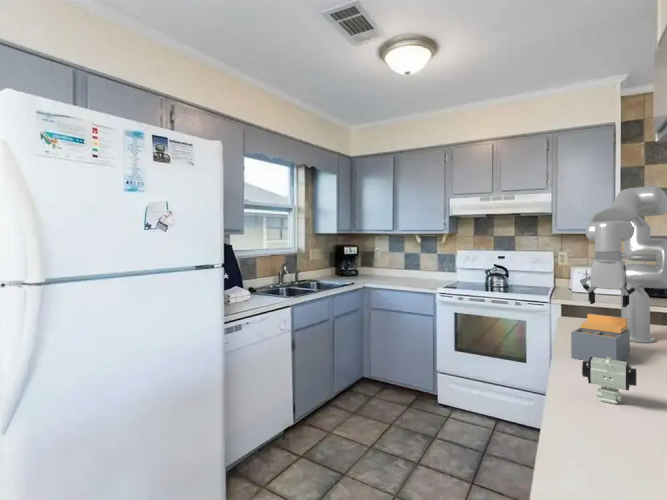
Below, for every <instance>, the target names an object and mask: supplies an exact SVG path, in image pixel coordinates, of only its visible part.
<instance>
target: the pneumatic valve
mask: <svg viewBox="0 0 667 500" xmlns="http://www.w3.org/2000/svg"><path fill="white" fill-rule="evenodd" d="M581 373H582V374H581V375H582V377H583V378H586V380H587V382H588V384H592V385H597V386H600V388H598V387H597V389H596V397H597V398H599V401H601V402H602V403H608V404H613V405H618V404H619V403H621V402H622V393H621V392H620V390H624V391H629V390H630V388H631V387H632V386H634V387H636V386H637V381H638V380H637V378H638V377H637V376H638V375H637V373H638V372H637V368H633V367H632V366H631V363H630V361H625V360H624V361H617V360H611V358H610V357H609V358H608V357H607V359H603V358H597V357H590V358H589V360H588V361H585V360H582V367H581Z"/></svg>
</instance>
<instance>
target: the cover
mask: <svg viewBox="0 0 667 500" xmlns="http://www.w3.org/2000/svg"><path fill="white" fill-rule="evenodd" d="M586 318H587V320H586V321H583V322H581V323H580V327H581V328H585V329H593V330H600V331H607V332H614V333H622V332H624V331H625V330H627V329H628V327H627V318H622V317H621V316H611V315H602V314H595V313H587V316H586Z"/></svg>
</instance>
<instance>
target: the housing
mask: <svg viewBox="0 0 667 500" xmlns="http://www.w3.org/2000/svg"><path fill="white" fill-rule="evenodd" d="M581 331H588V332H592V333H593V334H590V333H583V332H581ZM604 334H607V335H614V336H616V337H610V336H604ZM570 336H571V337H570V340H571V341H570V343H571V345H570V348H571V352H570V353H571V359H575V360H581V361H588V360H589V358H590V357H597V358H603V359H607V357H608V358H609V357H610V358H611V360H617V361H624V362H625V360H626V359H627V358H628V357H630V356H631V352H630V351H631V344H630V343H631V341H630V330H629V329H627V330H625V331H624V332H622V333H614V332H607V331H600V330H593V329H585V328H581V326H580V327H578V328H576V329H574V330H573V331H571V333H570Z"/></svg>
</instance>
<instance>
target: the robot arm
mask: <svg viewBox="0 0 667 500" xmlns="http://www.w3.org/2000/svg"><path fill="white" fill-rule="evenodd" d="M666 214H667V194H666V193H665V191H664V190H663V189H662V188H660V187H658V186H653V185H651V186H641V187H640V186H638V187H630V188H624V189H623V190H620V192H618V194H617V196H615V199H614V200H613V203H612V205H611V206H608V207H606V208H605V209H604V208H603V209H602V210H599V211H597V212H596V213H594V214H593V215H592V216H591V217H590V219H589V221H588V223H587V224H586V227H585V236H586V238H587V239H588V240H589V241H591V242H594V259H593V261H592V264H591V267H590V268H591V270H590V275H589V276H586V277H584V278H582V279H580V280H579V282H580V284H581V285H582V287H583V290H585V291H586V292H587V293H588V302H589V303H590V305H593V304H596V292H595V290H596V289H604V290H616V291H617V290H618V291H620V296H621V297H620V303H621V304H620V312H621V314H620V315H621V316H620V317H622V318H627V327H628V329H629V330H630V342H633V343H641V344H642V343H645V344H646V343H648V344H649V343H654V342H656V338H655V337H654V336H652V335H651V298H650V296H649V294H648V293H647V292H646V291H645V290H644V289H646V288H649V289H667V238H651V231H652V230H651V226H650V224H649V223H648V222H647V221H645V219H643V218H642V217H654V216H655V217H656V216H657V217H658V216H664V215H666ZM622 242H624V244H623V245H624V247H623V251H622ZM623 258H625V259H626V260H628V261H632V262H649V263H650V262H653V263H658V264H643V263H640V264H639V263H631V264H630V263H629V264H626V262H625V260H622V259H623ZM588 281H590V285H588V284H587V282H588ZM643 288H644V289H643Z"/></svg>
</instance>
